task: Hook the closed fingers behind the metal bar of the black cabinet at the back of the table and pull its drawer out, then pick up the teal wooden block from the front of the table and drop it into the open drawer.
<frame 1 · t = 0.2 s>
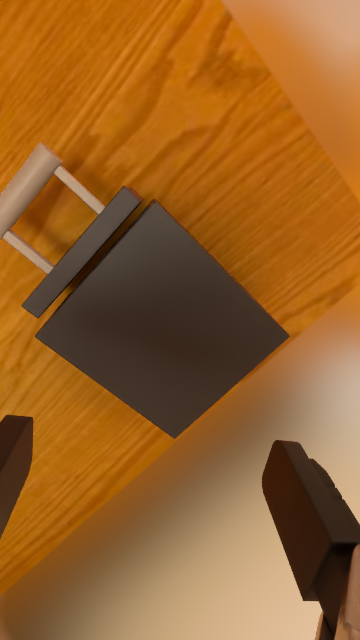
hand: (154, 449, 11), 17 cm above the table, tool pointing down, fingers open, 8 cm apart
drawer: (113, 269, 22), point 4 cm above the table, slide at 0.5 cm
cabinet: (162, 298, 27), on the table
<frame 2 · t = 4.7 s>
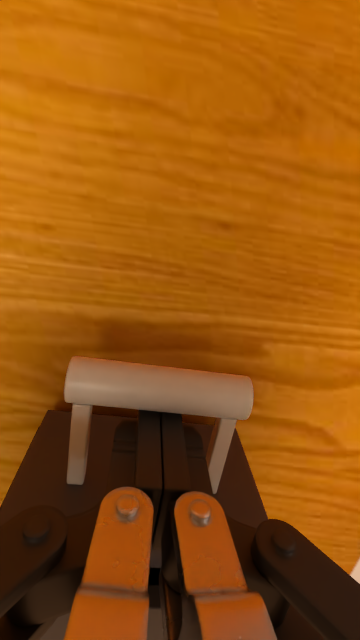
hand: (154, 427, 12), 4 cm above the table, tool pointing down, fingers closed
drawer: (135, 516, 14), point 4 cm above the table, slide at 0.5 cm, touching gripper
cabinet: (128, 513, 20), on the table
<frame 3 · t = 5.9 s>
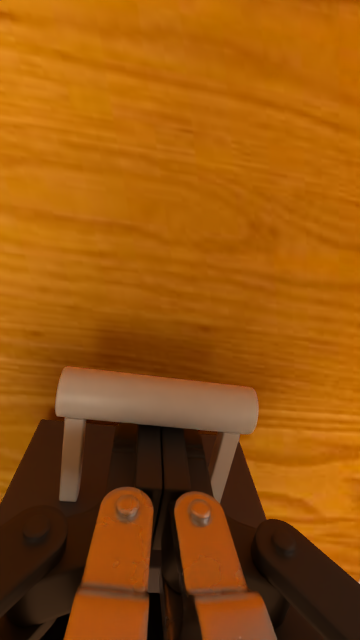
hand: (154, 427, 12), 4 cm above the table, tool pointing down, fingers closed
drawer: (132, 532, 14), point 4 cm above the table, slide at 5.0 cm, touching gripper
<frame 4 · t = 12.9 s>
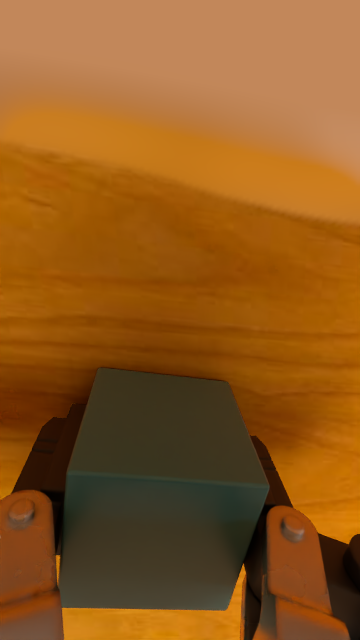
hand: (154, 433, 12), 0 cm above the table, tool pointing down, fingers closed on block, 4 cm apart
block: (155, 427, 12), on the table, touching gripper
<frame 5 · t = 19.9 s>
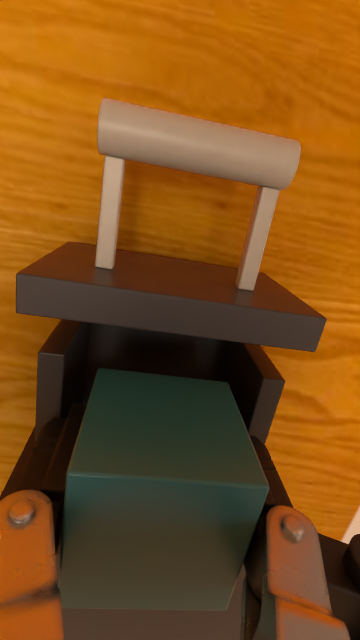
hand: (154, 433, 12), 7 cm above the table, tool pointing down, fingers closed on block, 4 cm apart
drawer: (163, 338, 13), point 4 cm above the table, slide at 7.3 cm
cabinet: (132, 477, 21), on the table
block: (155, 427, 12), point 6 cm above the table, touching gripper
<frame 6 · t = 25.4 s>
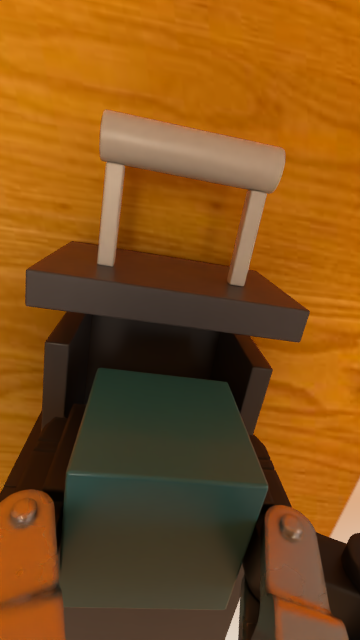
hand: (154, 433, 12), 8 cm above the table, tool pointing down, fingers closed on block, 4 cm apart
drawer: (160, 331, 14), point 4 cm above the table, slide at 7.3 cm
cabinet: (132, 467, 22), on the table
block: (155, 427, 12), point 7 cm above the table, touching gripper
when the fingers open (9 cm above the table, at t = 30.8 s): block drops 6 cm, resting on drawer.
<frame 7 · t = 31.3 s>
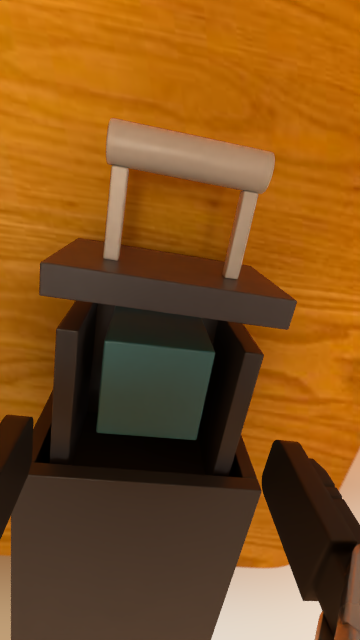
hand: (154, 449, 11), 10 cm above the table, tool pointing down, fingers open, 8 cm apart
drawer: (161, 321, 16), point 4 cm above the table, slide at 7.2 cm, touching block
cabinet: (134, 452, 23), on the table
block: (153, 347, 18), point 2 cm above the table, touching drawer
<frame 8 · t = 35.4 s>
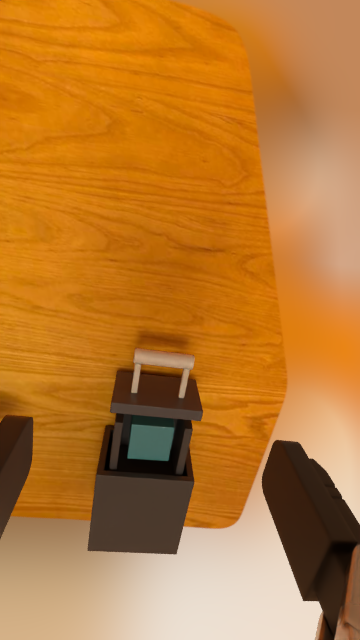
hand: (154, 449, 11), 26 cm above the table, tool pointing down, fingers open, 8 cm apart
drawer: (153, 410, 37), point 4 cm above the table, slide at 7.2 cm, touching block
cabinet: (141, 463, 44), on the table
block: (150, 416, 40), point 2 cm above the table, touching drawer
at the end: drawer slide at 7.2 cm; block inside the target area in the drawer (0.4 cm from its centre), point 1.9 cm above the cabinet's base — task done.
